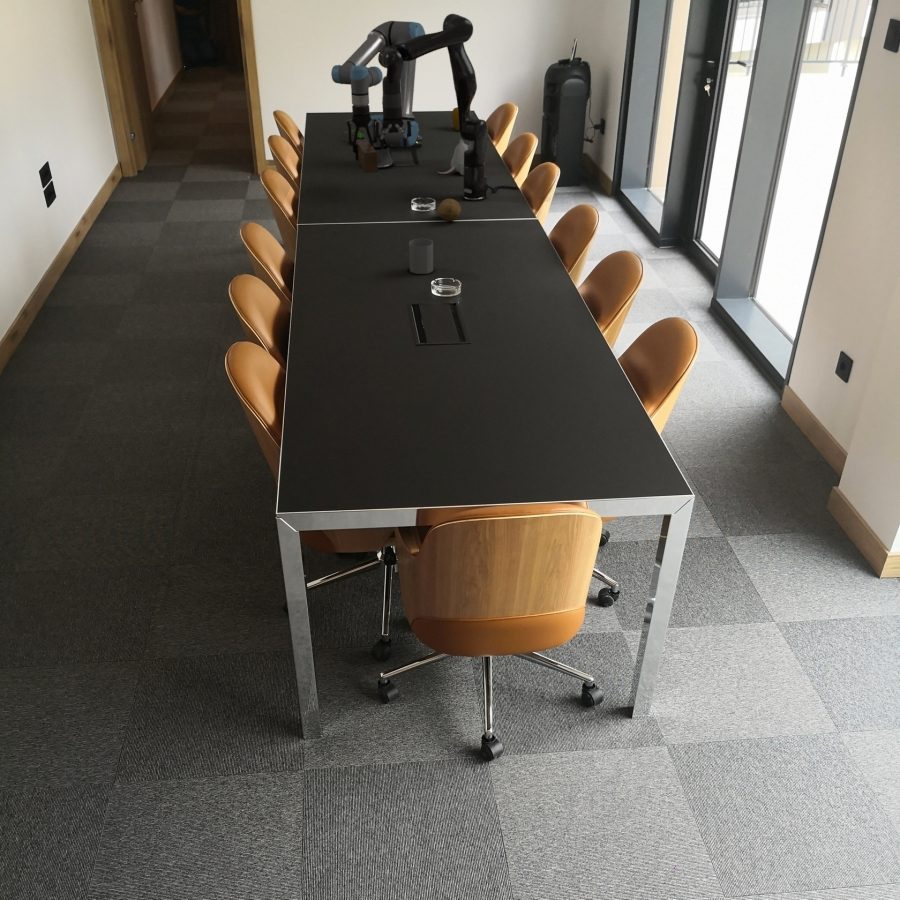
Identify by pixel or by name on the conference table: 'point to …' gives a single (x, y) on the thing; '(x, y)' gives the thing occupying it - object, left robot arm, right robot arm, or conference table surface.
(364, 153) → the bar
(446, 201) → the potato
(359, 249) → the conference table surface
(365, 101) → the left robot arm
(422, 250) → the cup
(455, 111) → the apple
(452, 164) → the toy
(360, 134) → the green dinosaur figurine
